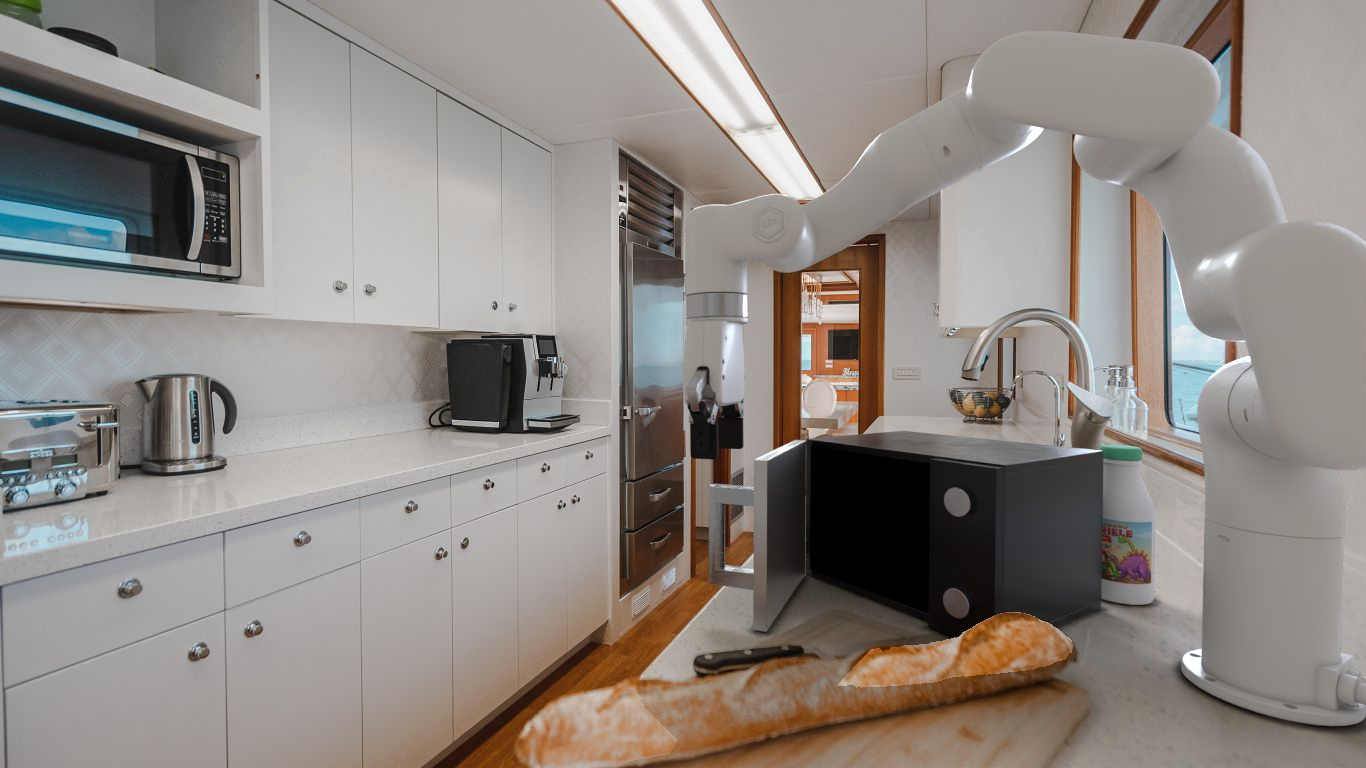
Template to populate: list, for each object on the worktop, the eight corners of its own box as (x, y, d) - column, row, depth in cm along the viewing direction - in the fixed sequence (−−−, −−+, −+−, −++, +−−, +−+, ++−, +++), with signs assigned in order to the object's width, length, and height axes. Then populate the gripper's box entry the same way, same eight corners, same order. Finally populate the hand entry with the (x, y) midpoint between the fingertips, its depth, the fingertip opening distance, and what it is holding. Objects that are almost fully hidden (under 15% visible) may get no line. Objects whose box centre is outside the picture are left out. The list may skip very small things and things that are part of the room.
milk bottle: (1091, 581, 89) (1094, 441, 88) (1159, 595, 83) (1162, 446, 83) (1077, 595, 83) (1079, 446, 83) (1148, 611, 78) (1151, 451, 77)
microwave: (989, 656, 66) (991, 467, 65) (793, 576, 91) (793, 439, 90) (1101, 608, 79) (1103, 450, 78) (902, 550, 104) (903, 430, 103)
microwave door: (700, 621, 74) (700, 456, 74) (751, 568, 94) (752, 438, 94) (766, 632, 71) (767, 460, 71) (805, 574, 91) (806, 440, 91)
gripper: (711, 318, 85) (713, 444, 85) (658, 306, 69) (660, 462, 69) (765, 315, 82) (767, 446, 82) (723, 303, 66) (725, 465, 66)
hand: (718, 453), depth 76 cm, fingers open, 9 cm apart
